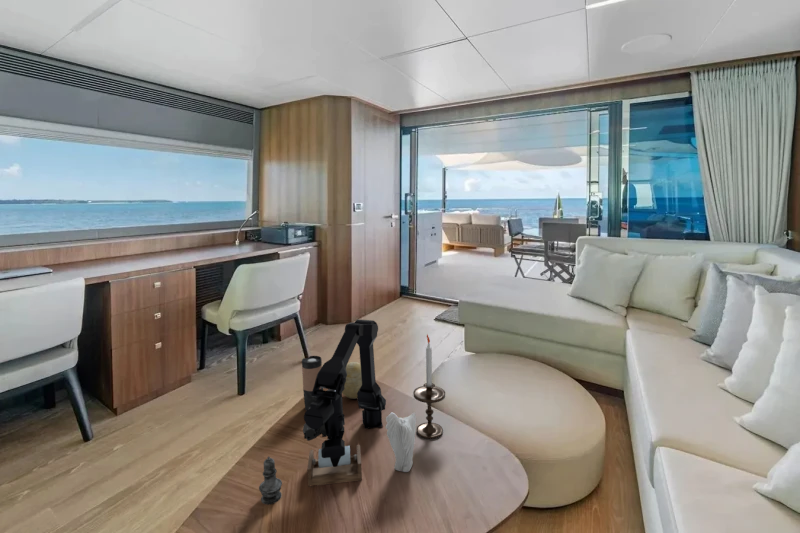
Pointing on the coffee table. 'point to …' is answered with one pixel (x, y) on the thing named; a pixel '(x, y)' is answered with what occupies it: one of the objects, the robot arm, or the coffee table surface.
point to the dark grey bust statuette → (270, 483)
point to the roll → (327, 461)
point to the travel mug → (310, 377)
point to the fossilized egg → (352, 380)
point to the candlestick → (429, 400)
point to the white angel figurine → (402, 439)
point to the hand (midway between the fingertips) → (335, 460)
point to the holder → (334, 471)
